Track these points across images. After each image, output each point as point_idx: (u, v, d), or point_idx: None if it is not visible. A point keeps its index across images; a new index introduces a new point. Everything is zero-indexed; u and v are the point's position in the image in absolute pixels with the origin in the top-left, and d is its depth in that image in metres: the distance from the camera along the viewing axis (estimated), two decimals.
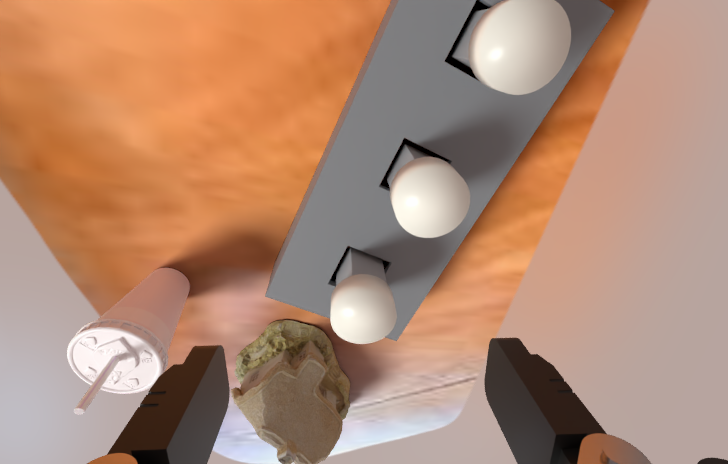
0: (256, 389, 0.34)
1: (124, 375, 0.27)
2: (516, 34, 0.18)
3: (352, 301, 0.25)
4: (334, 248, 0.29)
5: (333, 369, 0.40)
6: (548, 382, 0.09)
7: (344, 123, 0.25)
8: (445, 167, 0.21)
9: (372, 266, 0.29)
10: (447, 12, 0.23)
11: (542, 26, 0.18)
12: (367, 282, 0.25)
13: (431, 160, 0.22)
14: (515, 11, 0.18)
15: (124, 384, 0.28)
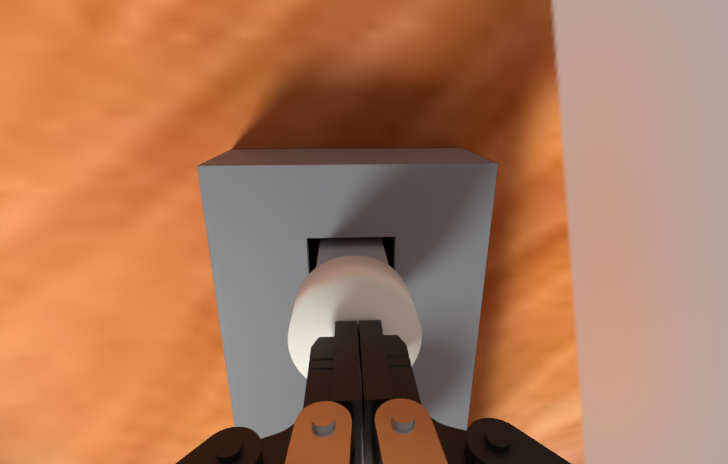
0: None
1: None
2: (332, 335, 0.12)
3: None
4: None
5: None
6: (384, 357, 0.10)
7: (236, 422, 0.19)
8: None
9: None
10: (280, 270, 0.17)
11: (360, 311, 0.12)
12: None
13: None
14: (311, 315, 0.12)
15: None
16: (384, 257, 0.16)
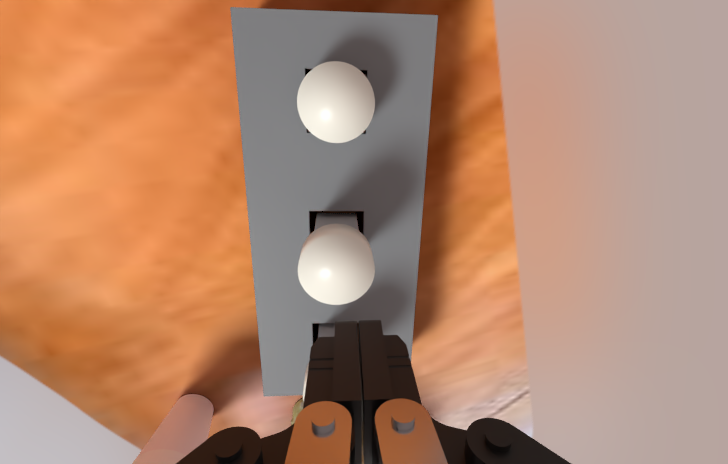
0: None
1: None
2: (322, 98, 0.22)
3: None
4: (301, 331, 0.30)
5: None
6: (385, 357, 0.10)
7: (250, 222, 0.26)
8: (329, 235, 0.21)
9: None
10: (285, 93, 0.24)
11: (339, 82, 0.21)
12: None
13: (320, 231, 0.22)
14: (311, 83, 0.21)
15: None
16: None
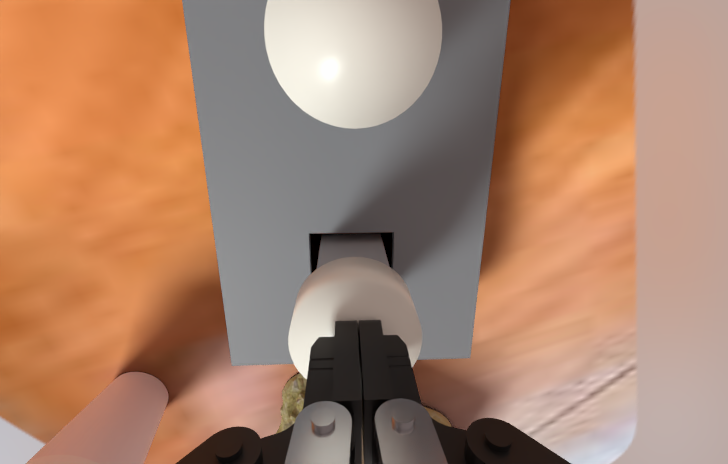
0: None
1: None
2: None
3: (315, 317, 0.12)
4: (291, 247, 0.17)
5: None
6: (384, 357, 0.10)
7: (188, 25, 0.14)
8: None
9: (361, 248, 0.17)
10: None
11: None
12: (334, 272, 0.13)
13: None
14: None
15: None
16: None
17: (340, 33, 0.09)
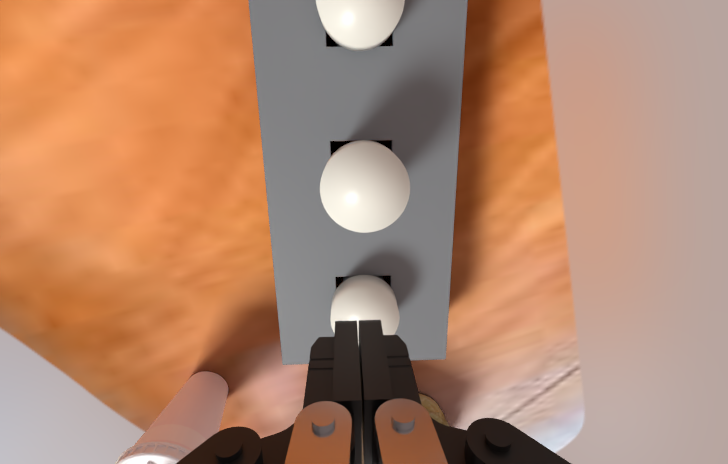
0: None
1: None
2: None
3: (344, 306, 0.24)
4: (324, 286, 0.26)
5: None
6: (384, 357, 0.10)
7: (264, 156, 0.23)
8: (356, 144, 0.18)
9: None
10: None
11: None
12: (353, 283, 0.25)
13: (345, 146, 0.19)
14: None
15: None
16: None
17: (358, 188, 0.19)
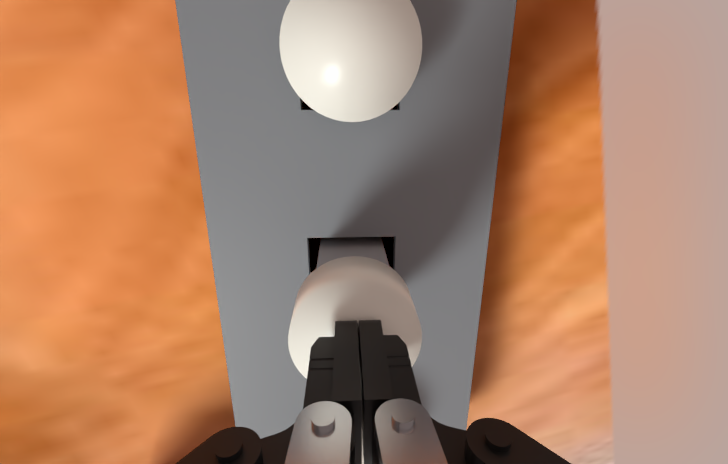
0: None
1: None
2: (326, 39, 0.12)
3: None
4: None
5: None
6: (384, 357, 0.10)
7: (214, 258, 0.16)
8: (343, 281, 0.12)
9: None
10: (263, 41, 0.14)
11: (357, 7, 0.11)
12: None
13: (327, 271, 0.13)
14: (305, 10, 0.11)
15: None
16: None
17: None
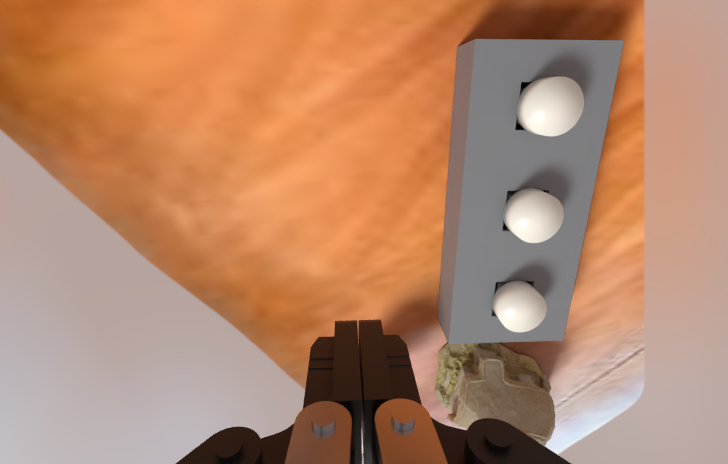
0: (461, 405, 0.40)
1: None
2: (546, 103, 0.29)
3: (511, 303, 0.35)
4: (486, 288, 0.37)
5: (510, 356, 0.45)
6: (384, 357, 0.10)
7: (461, 200, 0.34)
8: (536, 193, 0.32)
9: None
10: (504, 100, 0.32)
11: (560, 92, 0.29)
12: (514, 287, 0.36)
13: (524, 192, 0.33)
14: (540, 93, 0.29)
15: None
16: None
17: (534, 218, 0.33)
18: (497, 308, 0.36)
